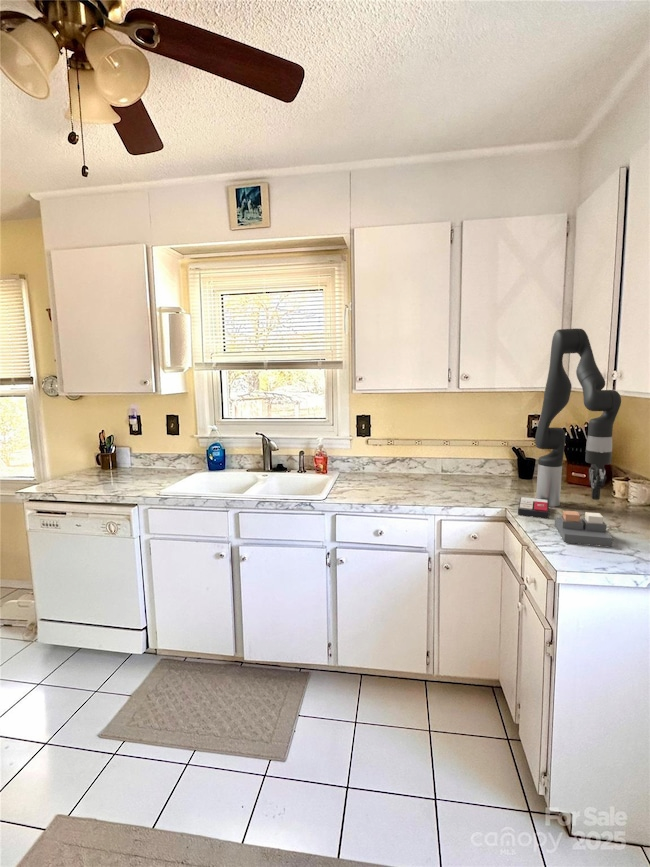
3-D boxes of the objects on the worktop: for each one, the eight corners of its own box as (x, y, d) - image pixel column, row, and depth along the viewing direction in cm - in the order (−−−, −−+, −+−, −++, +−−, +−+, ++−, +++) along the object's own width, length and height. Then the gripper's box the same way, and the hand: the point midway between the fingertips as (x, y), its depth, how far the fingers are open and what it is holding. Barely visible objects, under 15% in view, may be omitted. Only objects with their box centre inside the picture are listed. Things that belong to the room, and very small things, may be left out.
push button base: (554, 524, 166) (555, 510, 166) (596, 528, 162) (597, 513, 161) (564, 542, 149) (565, 526, 149) (612, 547, 145) (613, 531, 144)
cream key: (584, 519, 157) (585, 512, 156) (599, 520, 155) (599, 513, 155) (588, 523, 153) (588, 516, 152) (602, 524, 151) (603, 517, 151)
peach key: (562, 517, 159) (563, 510, 159) (576, 518, 158) (577, 511, 157) (565, 521, 155) (565, 514, 154) (579, 522, 153) (580, 515, 153)
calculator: (518, 507, 178) (520, 495, 191) (517, 517, 179) (519, 505, 192) (548, 510, 173) (548, 498, 186) (548, 521, 174) (548, 508, 187)
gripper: (581, 445, 158) (578, 493, 160) (591, 452, 145) (587, 503, 148) (605, 446, 156) (602, 494, 158) (617, 453, 143) (613, 505, 145)
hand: (595, 498), depth 153 cm, fingers closed
